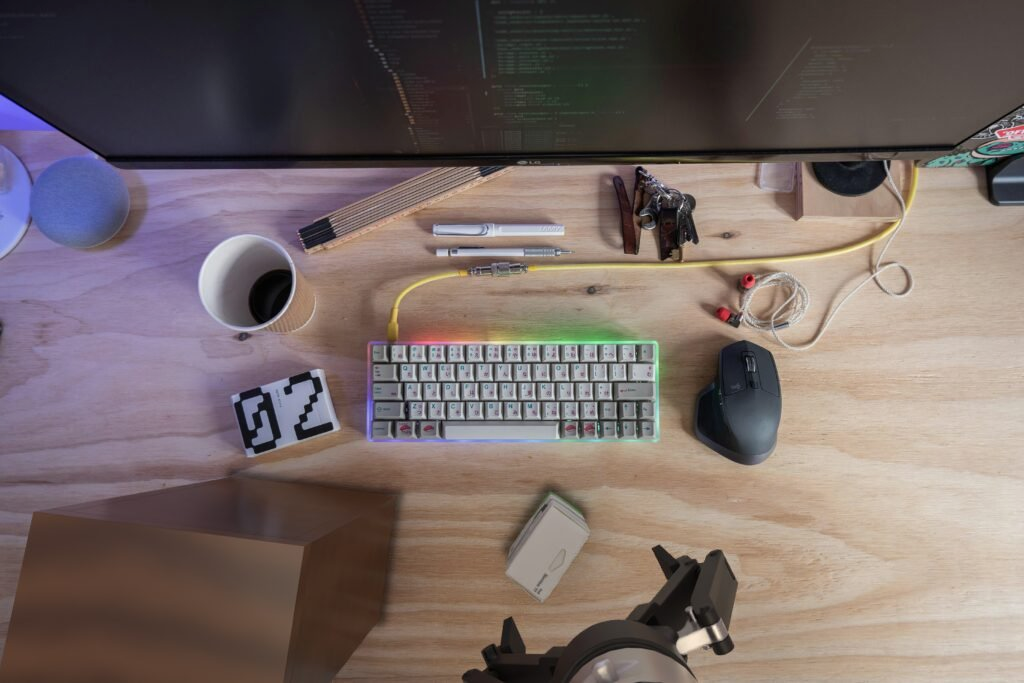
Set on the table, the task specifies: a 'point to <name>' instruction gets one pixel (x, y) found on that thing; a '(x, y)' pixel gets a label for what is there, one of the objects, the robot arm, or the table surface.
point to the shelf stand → (299, 516)
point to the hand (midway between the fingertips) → (589, 597)
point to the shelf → (153, 603)
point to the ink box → (546, 547)
